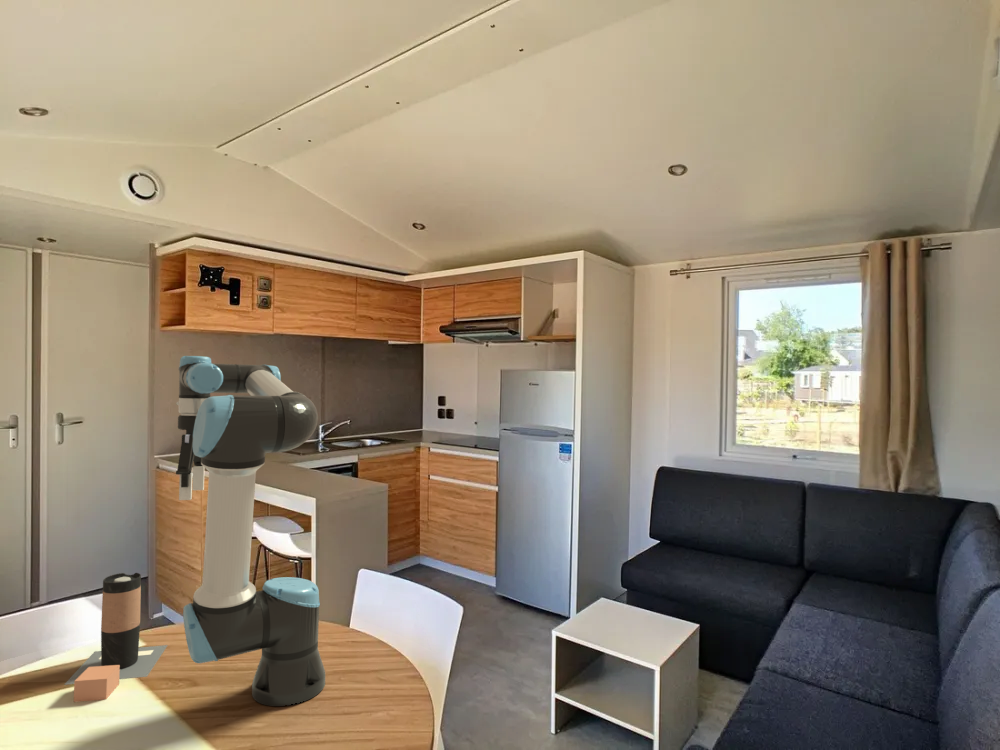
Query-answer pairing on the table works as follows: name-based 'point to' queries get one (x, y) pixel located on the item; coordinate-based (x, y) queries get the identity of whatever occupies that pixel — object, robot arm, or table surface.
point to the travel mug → (120, 620)
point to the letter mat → (139, 669)
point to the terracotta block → (96, 683)
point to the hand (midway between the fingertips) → (192, 494)
